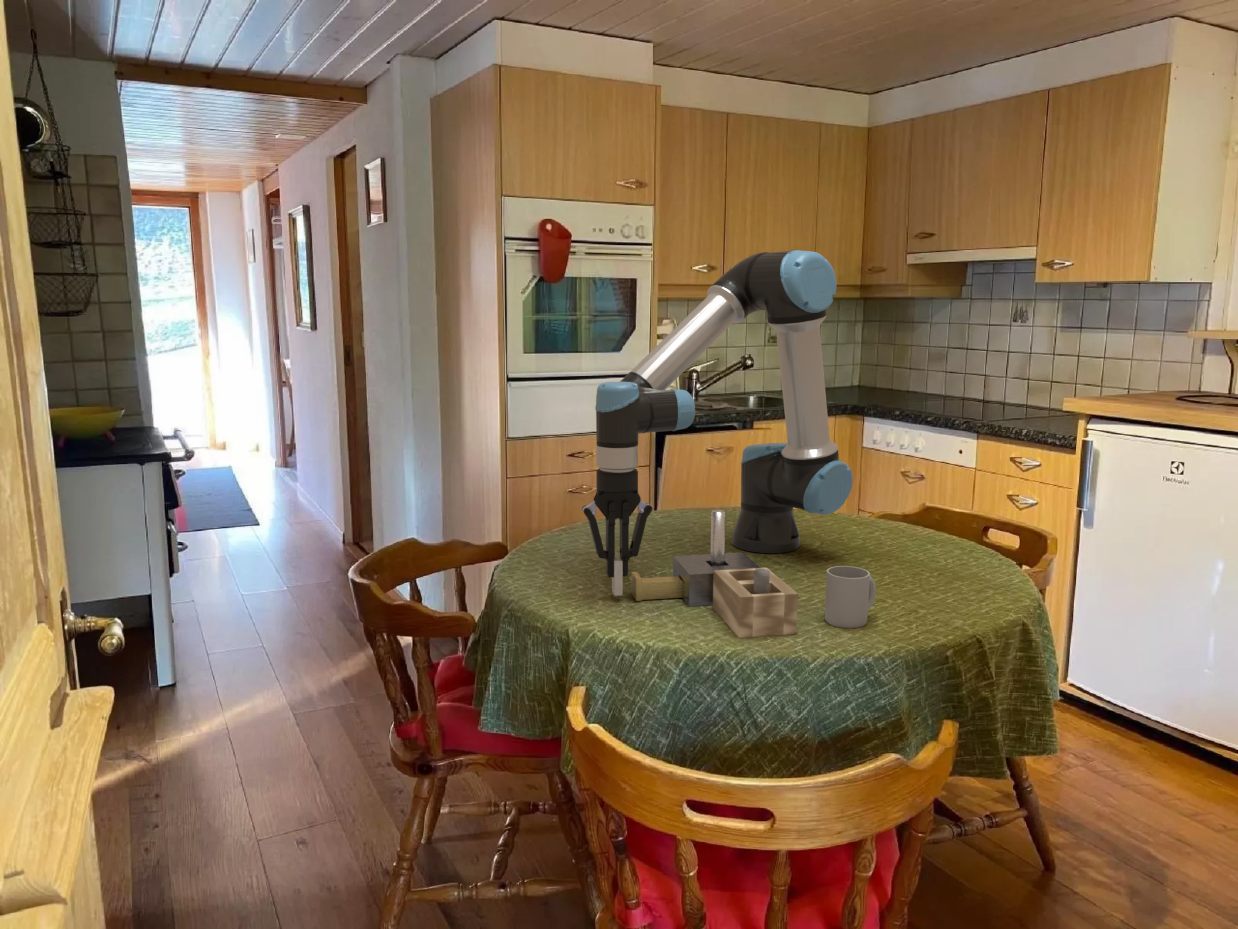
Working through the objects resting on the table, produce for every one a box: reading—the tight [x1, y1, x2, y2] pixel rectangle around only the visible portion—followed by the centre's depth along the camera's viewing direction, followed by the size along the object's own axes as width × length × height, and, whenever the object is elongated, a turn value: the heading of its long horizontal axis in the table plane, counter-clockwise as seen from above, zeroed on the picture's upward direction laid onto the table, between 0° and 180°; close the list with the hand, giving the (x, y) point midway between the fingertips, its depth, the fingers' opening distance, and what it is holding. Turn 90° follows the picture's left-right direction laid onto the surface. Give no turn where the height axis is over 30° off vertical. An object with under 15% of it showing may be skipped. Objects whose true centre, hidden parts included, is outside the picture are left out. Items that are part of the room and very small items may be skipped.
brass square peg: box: [630, 571, 683, 602], centre depth 172 cm, size 10×4×4 cm, turn 101°
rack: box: [712, 567, 799, 639], centre depth 160 cm, size 10×15×10 cm, turn 11°
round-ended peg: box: [710, 509, 726, 566], centre depth 173 cm, size 3×3×16 cm
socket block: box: [672, 552, 761, 607], centre depth 174 cm, size 14×12×6 cm
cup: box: [824, 565, 877, 629], centre depth 160 cm, size 7×10×9 cm
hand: (617, 593), depth 171 cm, fingers closed
